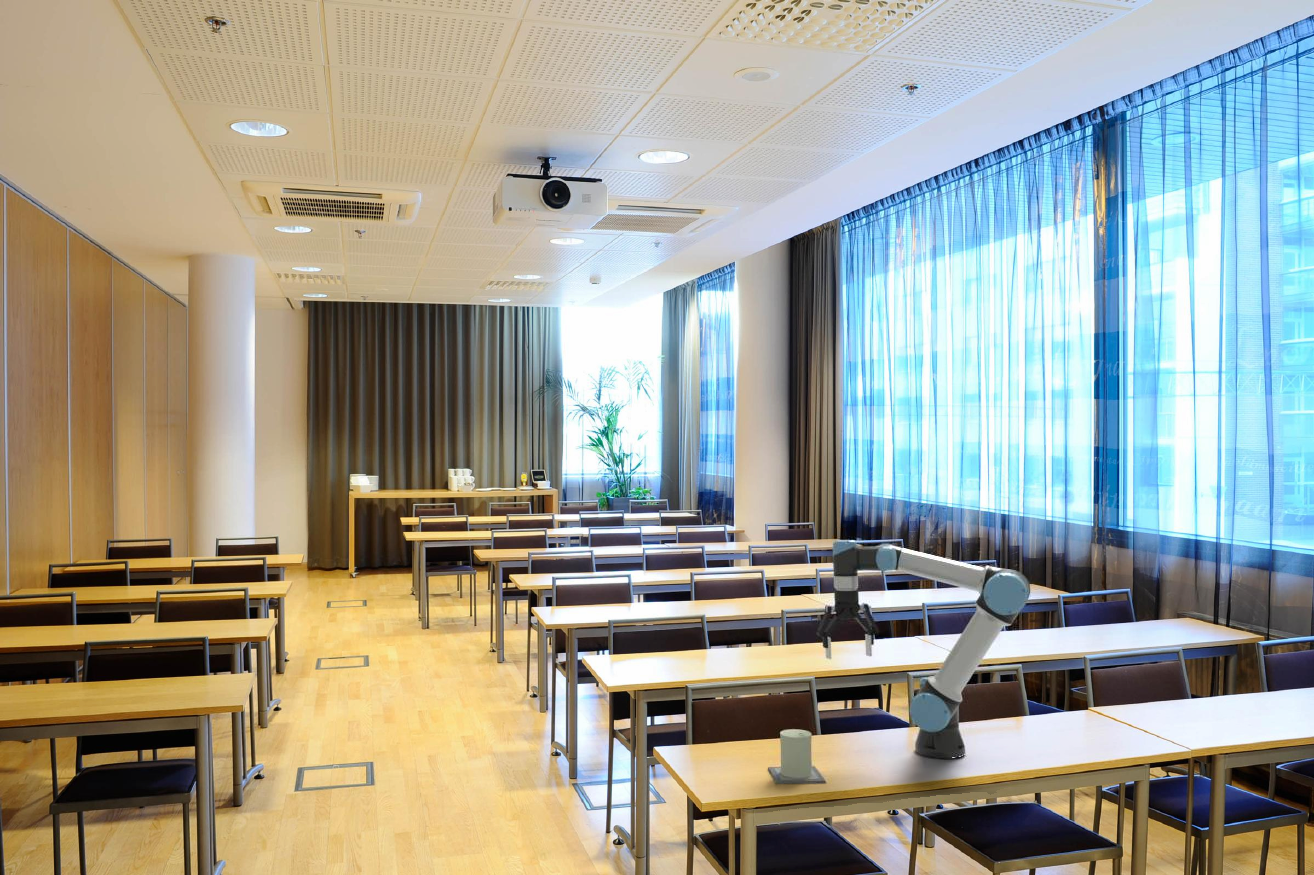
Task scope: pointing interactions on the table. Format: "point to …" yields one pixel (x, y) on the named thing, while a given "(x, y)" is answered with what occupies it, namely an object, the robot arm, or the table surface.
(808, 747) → the can
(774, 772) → the coaster
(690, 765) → the table surface
